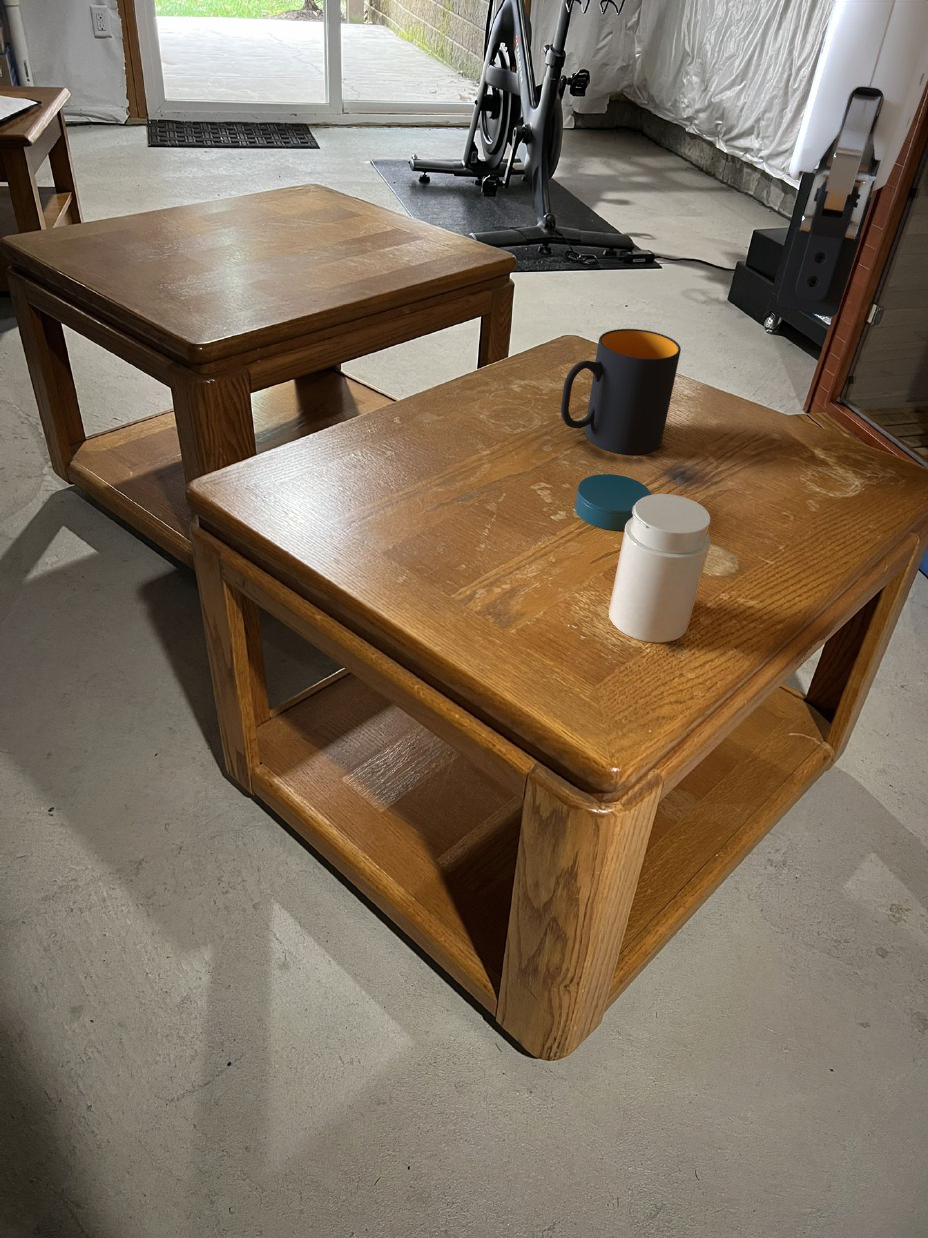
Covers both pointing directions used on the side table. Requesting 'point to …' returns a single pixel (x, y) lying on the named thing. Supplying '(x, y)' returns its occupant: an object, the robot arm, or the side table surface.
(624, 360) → the mug
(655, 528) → the jar
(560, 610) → the side table surface
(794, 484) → the side table surface
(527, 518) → the side table surface
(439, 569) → the side table surface
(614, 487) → the jar lid
